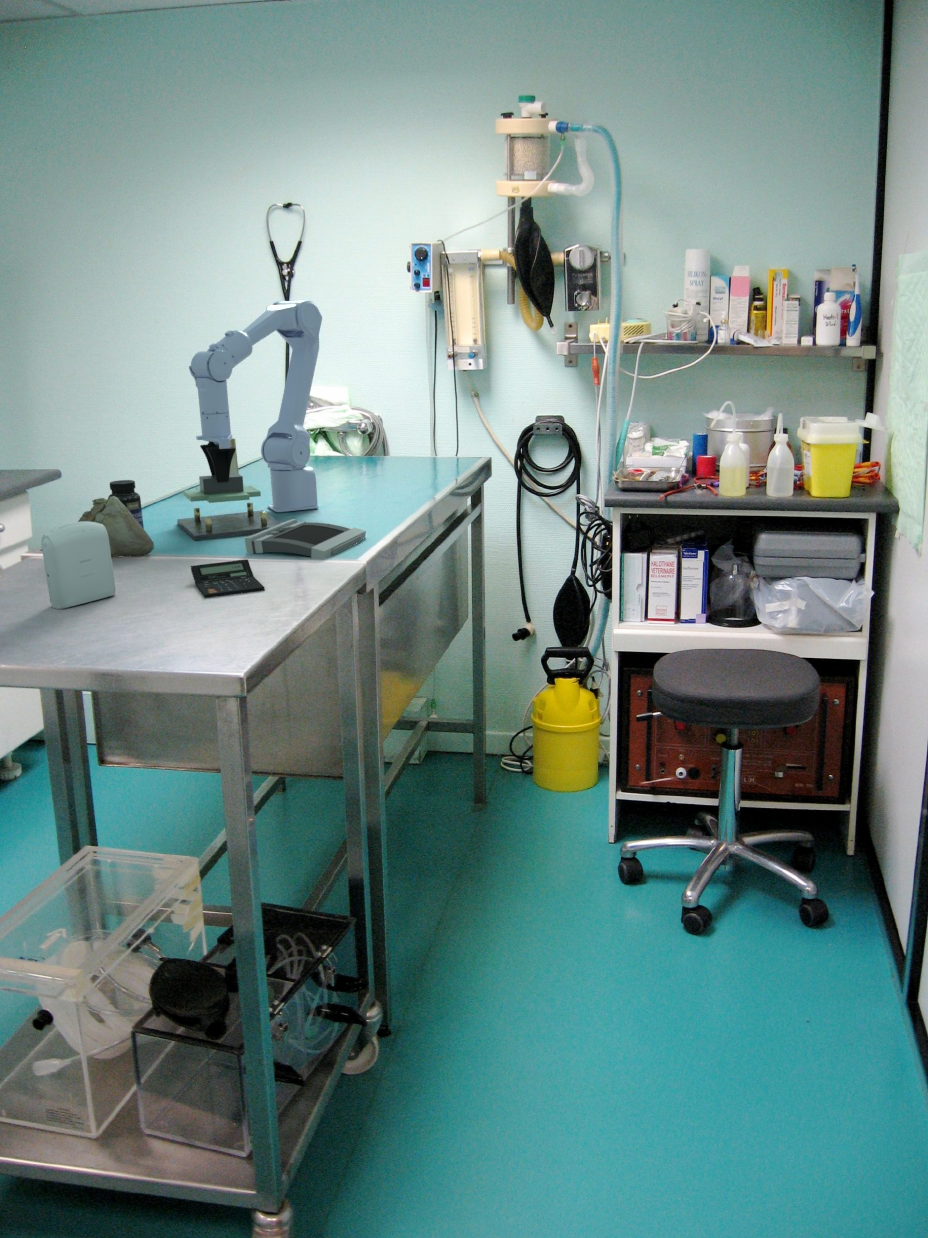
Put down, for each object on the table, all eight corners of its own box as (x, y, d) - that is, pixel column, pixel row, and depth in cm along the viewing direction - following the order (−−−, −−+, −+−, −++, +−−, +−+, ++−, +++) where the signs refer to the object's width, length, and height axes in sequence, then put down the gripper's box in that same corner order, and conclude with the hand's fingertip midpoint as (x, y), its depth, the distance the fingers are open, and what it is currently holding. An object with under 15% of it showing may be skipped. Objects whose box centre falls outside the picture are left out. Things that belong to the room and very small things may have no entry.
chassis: (263, 514, 226) (261, 498, 225) (286, 530, 211) (285, 513, 210) (177, 524, 219) (176, 507, 218) (195, 540, 204) (193, 522, 203)
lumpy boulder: (131, 572, 187) (57, 541, 189) (157, 578, 198) (87, 549, 200) (155, 513, 187) (82, 483, 189) (180, 523, 198) (110, 493, 201)
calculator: (205, 600, 165) (203, 581, 164) (192, 582, 175) (190, 565, 174) (264, 592, 168) (263, 573, 167) (248, 575, 178) (247, 558, 178)
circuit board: (248, 488, 226) (247, 469, 225) (264, 498, 214) (263, 478, 213) (181, 493, 220) (179, 473, 219) (194, 504, 208) (192, 483, 207)
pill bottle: (135, 541, 204) (128, 484, 201) (106, 540, 206) (99, 484, 202) (150, 534, 210) (144, 479, 207) (122, 533, 211) (115, 478, 208)
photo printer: (60, 611, 159) (49, 530, 156) (45, 606, 162) (34, 527, 158) (120, 596, 167) (111, 518, 163) (105, 591, 170) (96, 515, 166)
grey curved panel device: (291, 519, 207) (366, 516, 201) (294, 542, 208) (369, 540, 203) (244, 538, 192) (324, 535, 186) (248, 563, 193) (327, 561, 187)
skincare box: (240, 488, 258) (236, 438, 255) (223, 490, 256) (219, 439, 252) (230, 485, 263) (226, 435, 260) (213, 487, 261) (209, 437, 258)
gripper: (187, 410, 217) (194, 476, 221) (201, 417, 204) (207, 487, 208) (222, 408, 220) (227, 474, 224) (237, 414, 207) (243, 484, 211)
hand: (220, 480), depth 216 cm, fingers closed on circuit board, 4 cm apart
